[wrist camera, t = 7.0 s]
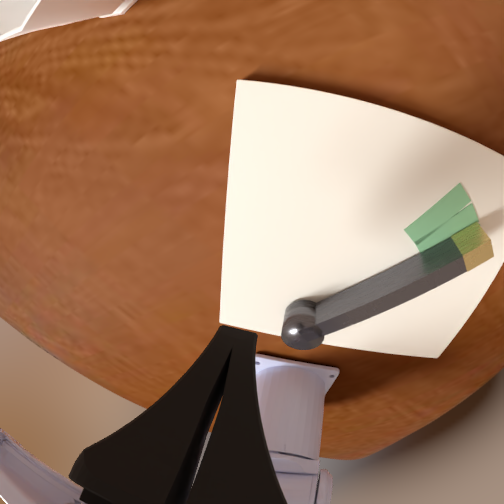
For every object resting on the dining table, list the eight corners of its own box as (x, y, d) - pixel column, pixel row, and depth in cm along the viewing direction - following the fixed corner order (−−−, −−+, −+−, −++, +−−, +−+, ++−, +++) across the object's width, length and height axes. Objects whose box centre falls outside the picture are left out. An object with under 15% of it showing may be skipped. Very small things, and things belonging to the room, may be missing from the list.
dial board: (435, 349, 21) (437, 359, 20) (223, 313, 23) (219, 323, 22) (531, 172, 11) (541, 178, 10) (241, 79, 13) (236, 79, 12)
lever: (298, 332, 21) (296, 354, 19) (276, 309, 20) (272, 330, 18) (482, 246, 14) (495, 265, 12) (473, 211, 13) (488, 228, 11)
